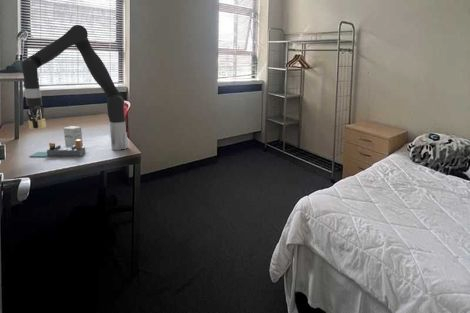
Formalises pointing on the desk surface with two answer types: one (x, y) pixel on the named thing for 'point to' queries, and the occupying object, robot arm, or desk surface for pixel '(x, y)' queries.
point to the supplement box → (72, 135)
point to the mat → (39, 154)
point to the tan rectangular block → (40, 123)
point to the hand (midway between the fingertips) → (37, 127)
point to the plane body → (66, 150)
